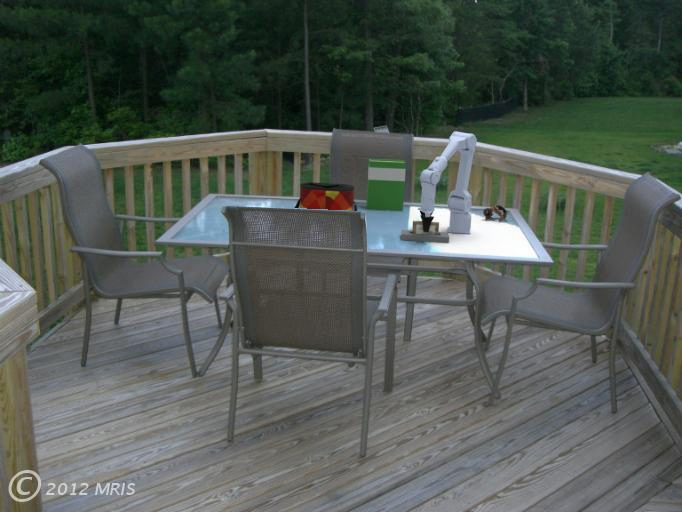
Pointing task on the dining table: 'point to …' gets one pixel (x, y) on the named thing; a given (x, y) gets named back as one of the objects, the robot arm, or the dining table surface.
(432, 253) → the dining table surface
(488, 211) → the dark brown curved piece
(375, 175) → the hardback book
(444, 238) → the panel with rectangular hole
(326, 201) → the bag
